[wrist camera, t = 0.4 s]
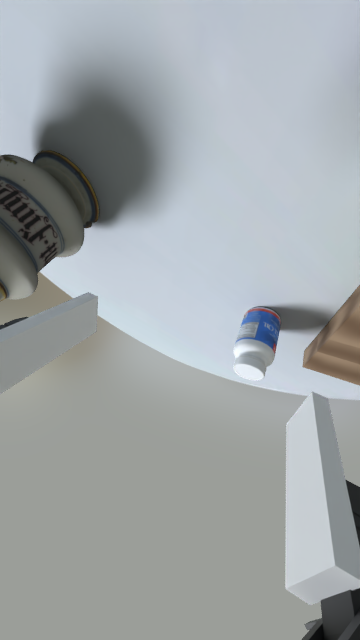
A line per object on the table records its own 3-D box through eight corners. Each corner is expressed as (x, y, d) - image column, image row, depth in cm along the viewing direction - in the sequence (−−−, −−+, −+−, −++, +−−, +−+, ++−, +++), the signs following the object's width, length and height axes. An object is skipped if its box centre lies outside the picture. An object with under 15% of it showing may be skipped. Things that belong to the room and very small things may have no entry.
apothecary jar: (87, 246, 38) (0, 328, 28) (20, 182, 33) (-115, 255, 23) (121, 205, 29) (11, 304, 19) (36, 110, 24) (-170, 178, 14)
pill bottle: (288, 326, 34) (278, 384, 29) (255, 331, 38) (242, 384, 33) (270, 301, 32) (256, 360, 26) (238, 310, 36) (220, 362, 30)
